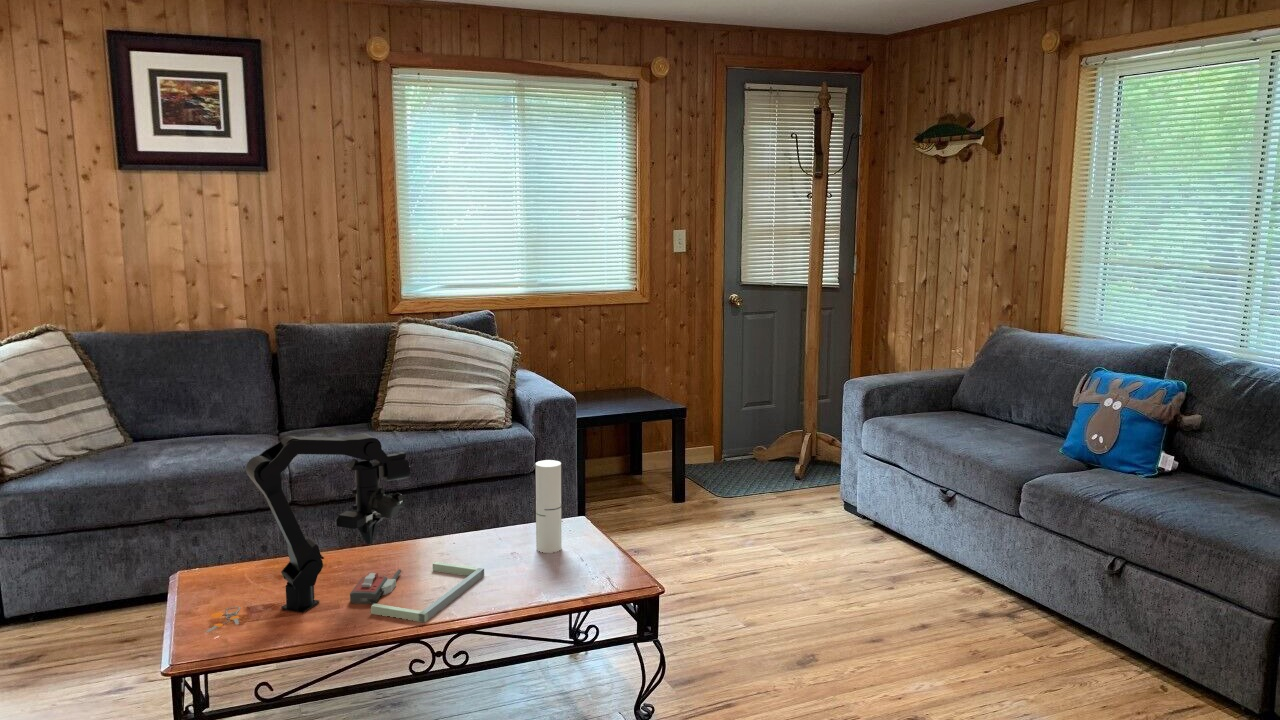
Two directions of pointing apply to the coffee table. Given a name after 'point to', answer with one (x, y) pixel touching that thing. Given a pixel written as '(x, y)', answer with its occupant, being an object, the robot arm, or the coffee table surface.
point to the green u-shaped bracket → (430, 611)
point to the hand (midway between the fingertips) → (369, 544)
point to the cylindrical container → (548, 506)
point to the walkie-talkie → (372, 588)
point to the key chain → (231, 617)
